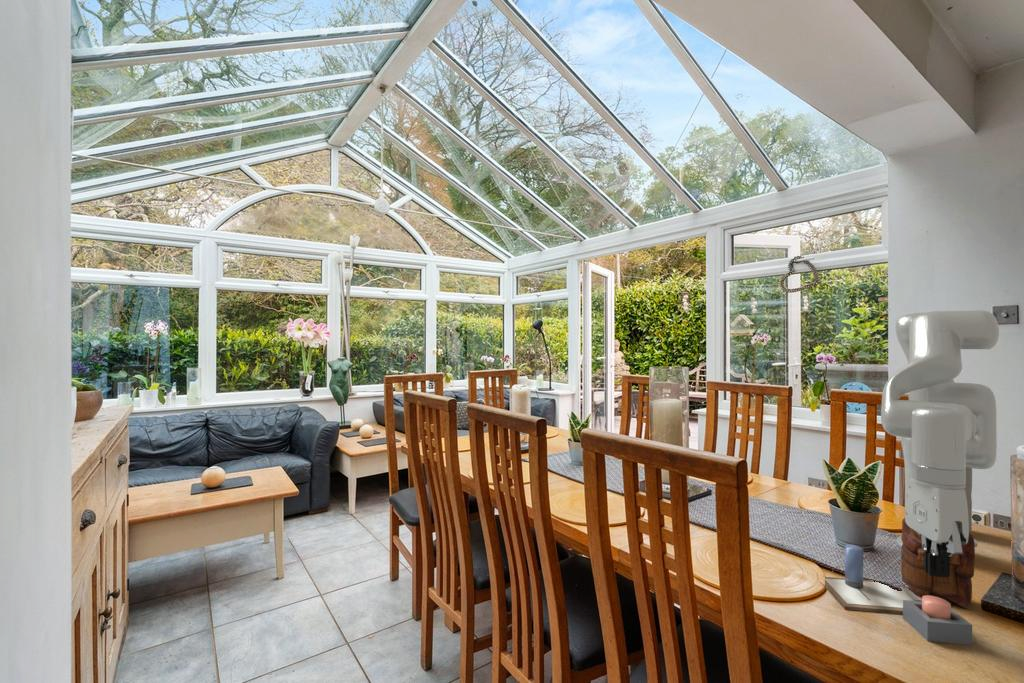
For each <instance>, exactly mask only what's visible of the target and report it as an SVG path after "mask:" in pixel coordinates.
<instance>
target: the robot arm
mask: <svg viewBox="0 0 1024 683" xmlns="http://www.w3.org/2000/svg"><path fill="white" fill-rule="evenodd" d="M999 328H1000V326H999V323H998V320H997V318H996V316H995V315H994V314H993V313H992V312H991V311H987V310H983V309H982V310H980V309H979V310H974V309H973V310H940V311H937V310H936V311H927V312H916V313H909V314H908V313H907V314H904V315H901V316H900V317H898V318H897V320H896V321H895V334H896V338H897V340H898V343H899V345H900V347H901V349H902V352H904V356H905V357H906V360H907V363H908V364H906V365H904V366H902V367H901V368H900V369H898V370H897V371H896V372H894V373H893V374H892V375H891V376H890V377H889V378H888V380H887V381H886V382H885V384H884V387H883V389H882V394H881V409H880V410H881V411H880V421H881V425H882V427H883V430H884V431H885V432H886V433H887V434H889V435H890V436H893V437H897V438H900V441H901V442H900V444H901V449H902V454H903V462H904V518H905V522H906V524H907V525H908V526H909V527H910V528H912V529H913V530H915V531H916V532H917V533H918V534H919V535H920V536H921V538H922V547H923V549H924V550H927V551H924V571H925V572H926V573H928V574H929V575H930V576H936V577H949V576H950V557H952V553H953V554H962V546H961V545H965V544H967V542H968V537H969V518H968V506H967V499H966V493H965V489H963V488H965V487H966V468H972V469H976V470H987V469H991V468H992V467H993V466H994V465H995V463H996V459H997V402H996V396H995V394H994V392H993V390H992V389H991V388H990V387H989V386H987V385H984V384H982V383H981V384H979V383H971V382H969V383H968V382H965V383H964V382H955V381H954V379H956V378H957V377H958V376H959V375H960V373H961V372H962V370H963V361H962V351H961V350H991V349H993V348H994V347H995V346H996V345H997V343H998V341H999V337H1000V336H999V335H1000V329H999ZM906 394H908V400H907V399H900V398H901V397H903V396H905V395H906ZM901 536H902V535H900V536H898V537H897V538H896V544H897V545H898V547H900V548H902V545H903V542H902V538H901ZM974 544H975V548H977V547H978V542H977V540H976V539H975V538H974Z"/></svg>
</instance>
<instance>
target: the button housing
mask: <svg viewBox="0 0 1024 683" xmlns="http://www.w3.org/2000/svg"><path fill="white" fill-rule="evenodd" d="M902 619H903V620H904V621H906V622H907V623H908V624H909V625H910V626H911V627H912V628H913V630H915V631H916V632H918V634H920V636H922V637H923V638H924V639H925V640H926V641H927V642H939V643H946V644H947V643H948V644H950V643H951V644H957V645H958V644H960V645H961V644H962V645H971V646H972V645H973V624H972V623H970V622H969V621H968V620H967V619H966V618H964V617H963V616H962V615H960V614H959V613H958V612H956V611H955V610H954V609H952V608H951V620H948V619H936V618H930V617H929V616H928V615H926V614H925V613H924V612H923V611H922V601H909V600H903V614H902Z"/></svg>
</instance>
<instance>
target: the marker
mask: <svg viewBox="0 0 1024 683" xmlns="http://www.w3.org/2000/svg"><path fill="white" fill-rule="evenodd" d="M844 549H845V550H844V551H845V552H844V560H845V561H844V578H845V584H846V585H848V586H850V587H853V588H859V589H860V588H863V580H864V548H863V547H861V546H859V545H855V544H845V545H844Z"/></svg>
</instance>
